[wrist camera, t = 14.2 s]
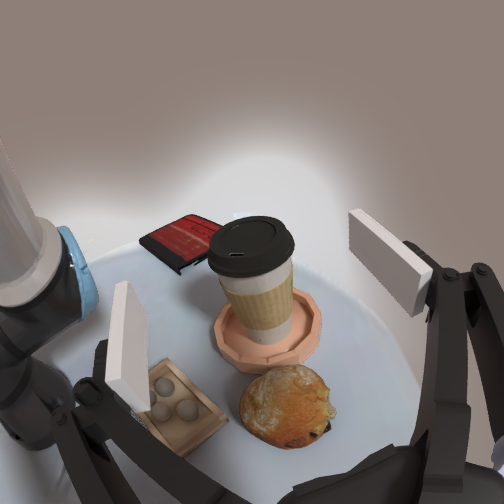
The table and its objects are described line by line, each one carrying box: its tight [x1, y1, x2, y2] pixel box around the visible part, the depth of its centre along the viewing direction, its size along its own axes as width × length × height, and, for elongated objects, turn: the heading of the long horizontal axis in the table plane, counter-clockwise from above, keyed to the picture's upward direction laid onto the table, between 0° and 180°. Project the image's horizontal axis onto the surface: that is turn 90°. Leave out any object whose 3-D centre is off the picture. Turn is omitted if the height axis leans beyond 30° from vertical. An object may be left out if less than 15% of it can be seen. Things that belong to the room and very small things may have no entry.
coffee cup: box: [207, 216, 295, 345], centre depth 37 cm, size 10×10×15 cm
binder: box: [139, 214, 222, 275], centre depth 69 cm, size 16×2×21 cm
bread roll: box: [240, 364, 337, 450], centre depth 30 cm, size 10×10×8 cm
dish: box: [214, 287, 322, 375], centre depth 41 cm, size 14×14×2 cm
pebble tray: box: [137, 358, 229, 458], centre depth 33 cm, size 12×8×3 cm, turn 44°
